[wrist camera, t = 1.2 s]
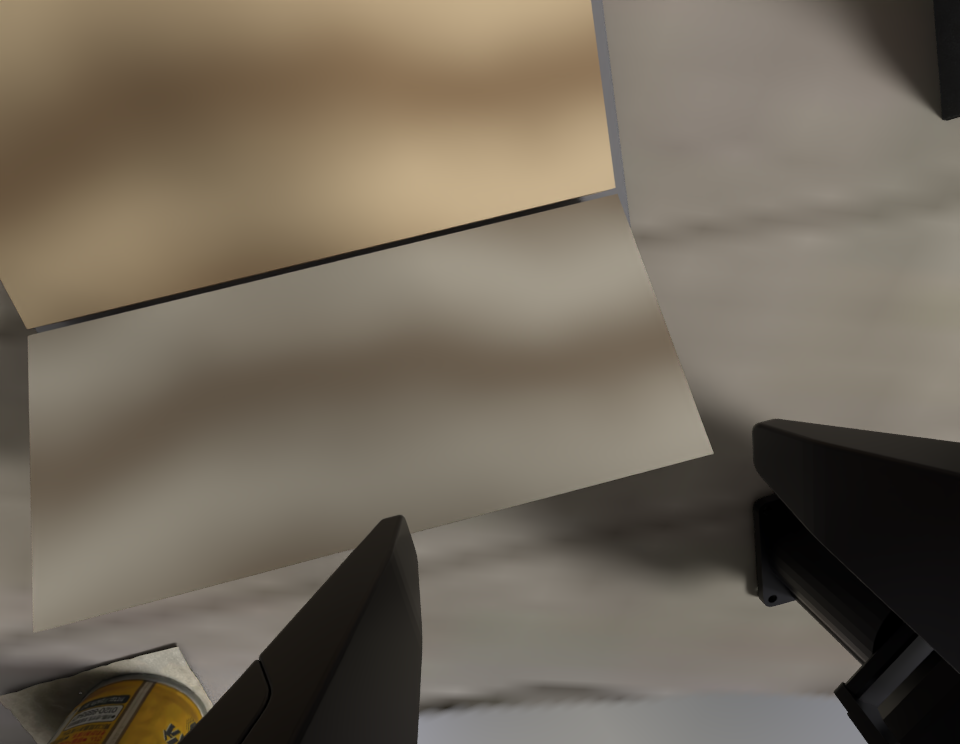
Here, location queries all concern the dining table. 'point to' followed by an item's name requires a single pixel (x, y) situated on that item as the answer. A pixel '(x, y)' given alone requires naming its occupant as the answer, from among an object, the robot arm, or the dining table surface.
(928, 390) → the dining table surface
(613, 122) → the underlay mat
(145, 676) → the condiment
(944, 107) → the ammunition clip
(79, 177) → the plank
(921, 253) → the dining table surface
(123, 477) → the loose plank
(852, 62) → the dining table surface
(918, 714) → the robot arm
